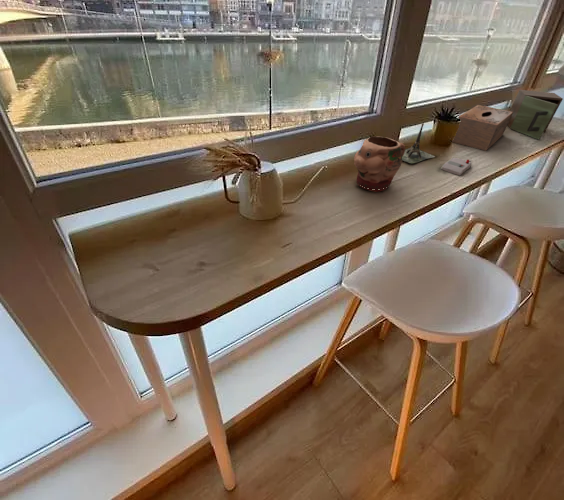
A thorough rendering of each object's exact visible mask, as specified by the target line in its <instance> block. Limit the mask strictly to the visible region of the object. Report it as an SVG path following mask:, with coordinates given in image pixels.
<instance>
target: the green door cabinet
mask: <svg viewBox="0 0 564 500" xmlns="http://www.w3.org/2000/svg"><path fill="white" fill-rule="evenodd" d="M525 96H529V97H533V98H536V99H540V100H543V101H547V102H550V103H554V104H557V105H558V106H557V108H556V109H555V111H554V113H553V115H552V117H551V119H550V121H549V122H548V124H547V126H546V128H545V130H544V132H543V133H546V132H547V129H548V128H549V125H550V124H551V122H552V121H553V118H554V116H555V114H556V113H557V111H558V109H559V108H560V105H561V104H562V102H563V100H564V98H563V97H562V96H560V95H558V94H557V93H555V92H549V91H540V90H539V91H537V90H527V89H519V90H518V92H517V94H516V95H515V99H514V100H513V103H512V105H511V107H510V109H509V111H511V112H513V114H512V116H511V118H510V120H509V123H508V125H507V126H508V128H509V129H510V128H511V126H512V123H513V121H514V119H515V117H516V115H517V113H518V111H519V108H520V106H521V104H522V102H523V100H524V98H525Z"/></svg>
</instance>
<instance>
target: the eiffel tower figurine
mask: <svg viewBox="0 0 564 500" xmlns="http://www.w3.org/2000/svg"><path fill="white" fill-rule="evenodd" d="M424 125H425V123H424V122H422V123H421V126H420V129H419V132H418V135H417V137H416V139H415V140H414V143H413V145H411V146H410V147H409V148H405V153H404V155H403V157H402V162H403V161H404V162H406V163H408V164H416V163H420V162H422V161H425V160H427V159H432V158H436V156H435V155H433V154H431V153H428V152H426V151H423V150H421V149H420V143H421V137H422V131H423V128H424Z"/></svg>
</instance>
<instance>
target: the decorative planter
mask: <svg viewBox="0 0 564 500" xmlns="http://www.w3.org/2000/svg"><path fill="white" fill-rule="evenodd" d="M405 149H406V145H405V144H404V143H402V142H399V141H398V140H395V139H392V138H391V137H385V136H375V135H372V136H369V137H368V138H366V139H364V141H363V143H362V145H361V147H360V148H359V150H357V152H355V154H354V156H353V157H354V158H353V164H354V166H355V168H356V169H357V176H356V184H357V185H358V186H359V187H360V188H362V189H364V190H367V191H369V192H374V193H375V192H382V191H386V190H387V189H388V188H389V187H390V185H391V184H392V181H393V180H394V178H395V176H396V174H397V172H398V171H399V170H400V169H401V166H402V163H403V160H402V157H403V155H404V153H405ZM360 185H361V186H360ZM362 186H363V187H362ZM388 186H389V187H388ZM364 187H365V188H364ZM386 187H387V188H386ZM367 188H369V189H367ZM383 188H384V189H383ZM372 189H375V190H372ZM378 189H380V190H378Z"/></svg>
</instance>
